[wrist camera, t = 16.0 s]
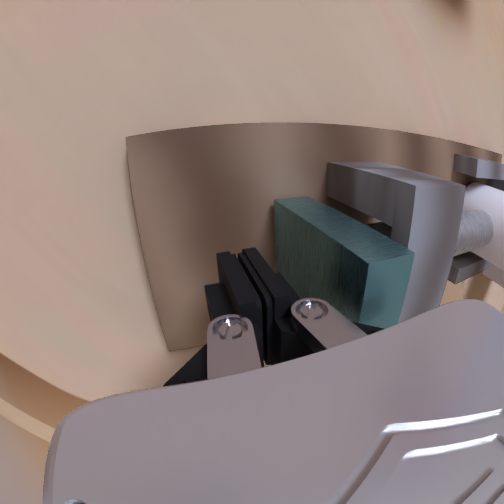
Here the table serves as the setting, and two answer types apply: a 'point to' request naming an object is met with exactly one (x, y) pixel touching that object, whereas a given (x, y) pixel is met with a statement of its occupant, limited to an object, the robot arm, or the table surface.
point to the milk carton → (495, 274)
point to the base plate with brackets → (288, 186)
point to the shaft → (353, 258)
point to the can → (500, 211)
